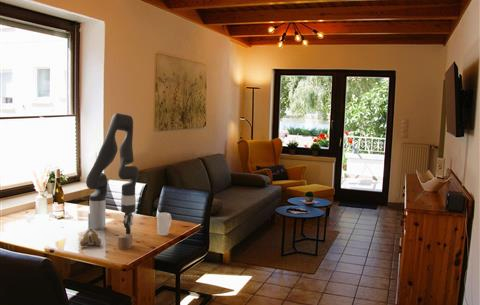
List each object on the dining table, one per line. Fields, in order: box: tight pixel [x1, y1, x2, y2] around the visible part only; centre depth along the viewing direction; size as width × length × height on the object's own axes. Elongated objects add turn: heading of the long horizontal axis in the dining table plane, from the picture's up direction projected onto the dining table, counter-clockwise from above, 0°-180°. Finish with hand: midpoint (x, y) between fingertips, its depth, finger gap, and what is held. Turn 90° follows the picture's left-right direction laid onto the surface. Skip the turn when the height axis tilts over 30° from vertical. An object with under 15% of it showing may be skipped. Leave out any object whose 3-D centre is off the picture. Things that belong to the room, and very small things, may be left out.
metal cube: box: [117, 233, 133, 250], centre depth 239 cm, size 6×6×6 cm
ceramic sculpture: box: [80, 228, 102, 247], centre depth 241 cm, size 11×9×15 cm
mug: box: [156, 212, 173, 236], centre depth 265 cm, size 10×7×12 cm, turn 143°
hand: (128, 234), depth 245 cm, fingers closed
